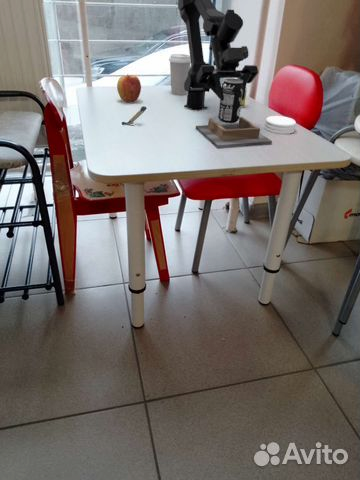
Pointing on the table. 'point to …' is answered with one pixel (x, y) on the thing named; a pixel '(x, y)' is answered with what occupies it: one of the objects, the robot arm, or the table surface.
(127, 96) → the apple
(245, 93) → the supplement bottle
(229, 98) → the beverage can
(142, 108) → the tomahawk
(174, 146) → the table surface
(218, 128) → the loading bay
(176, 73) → the coffee cup
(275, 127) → the white ridged disc
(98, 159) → the table surface
